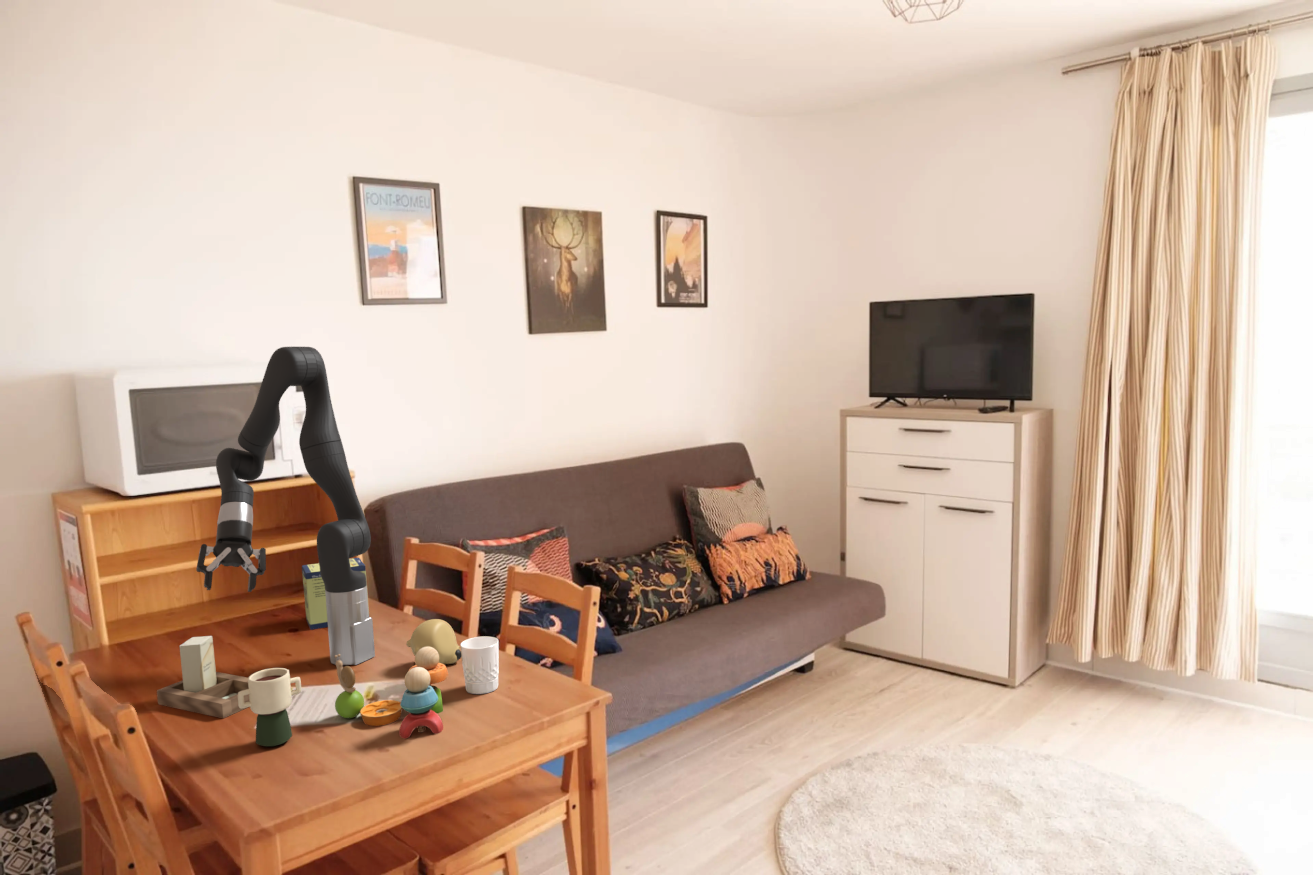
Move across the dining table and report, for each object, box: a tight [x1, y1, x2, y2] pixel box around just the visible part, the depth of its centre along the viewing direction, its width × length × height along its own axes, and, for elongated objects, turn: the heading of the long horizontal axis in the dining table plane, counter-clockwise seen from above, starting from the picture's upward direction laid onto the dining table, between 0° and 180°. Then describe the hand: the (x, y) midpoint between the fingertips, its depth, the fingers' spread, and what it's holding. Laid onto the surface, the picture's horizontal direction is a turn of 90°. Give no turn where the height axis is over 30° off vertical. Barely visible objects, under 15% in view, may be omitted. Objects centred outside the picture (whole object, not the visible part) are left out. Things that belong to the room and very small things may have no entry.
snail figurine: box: [334, 654, 365, 719], centre depth 168 cm, size 5×6×12 cm
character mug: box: [238, 667, 302, 747], centre depth 157 cm, size 11×7×13 cm, turn 128°
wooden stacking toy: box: [360, 647, 449, 739], centre depth 165 cm, size 18×17×12 cm
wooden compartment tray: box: [156, 671, 250, 719], centre depth 179 cm, size 20×12×3 cm, turn 65°
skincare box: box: [179, 635, 217, 693], centre depth 181 cm, size 6×4×12 cm
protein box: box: [301, 557, 370, 631], centre depth 232 cm, size 10×16×16 cm
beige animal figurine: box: [406, 618, 462, 665], centre depth 196 cm, size 10×12×11 cm
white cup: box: [459, 635, 500, 695], centre depth 180 cm, size 8×8×10 cm
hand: (229, 589), depth 195 cm, fingers open, 8 cm apart
